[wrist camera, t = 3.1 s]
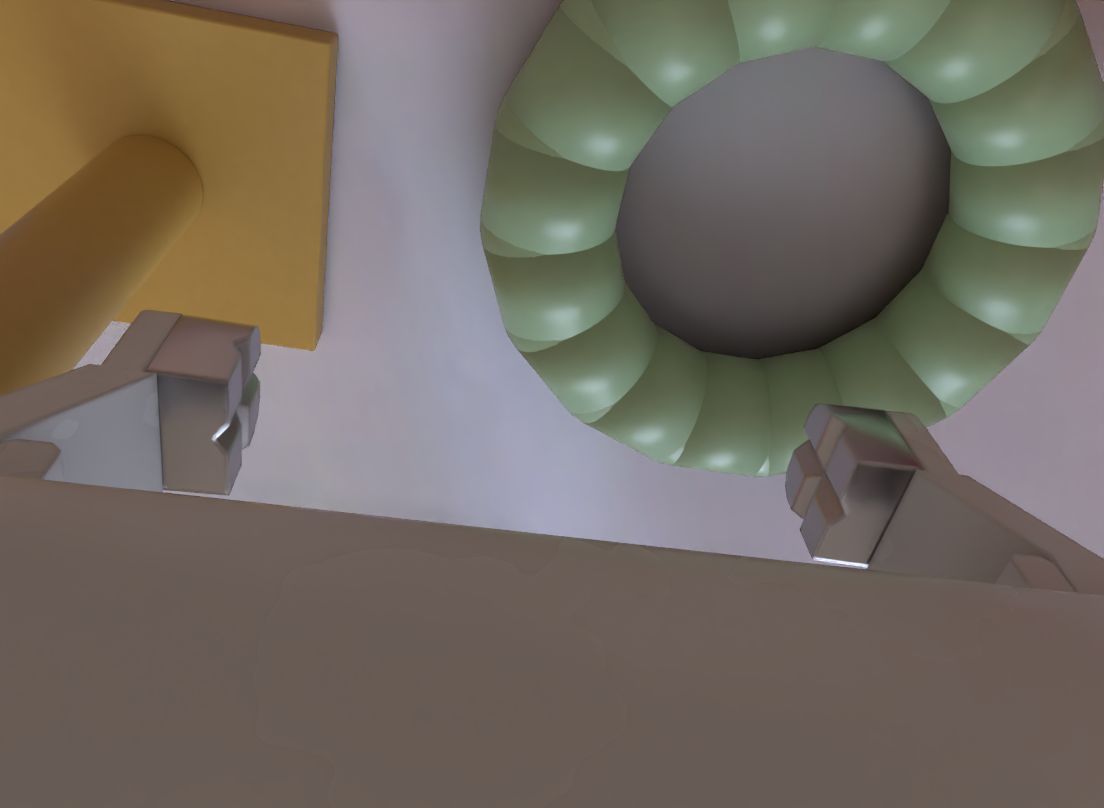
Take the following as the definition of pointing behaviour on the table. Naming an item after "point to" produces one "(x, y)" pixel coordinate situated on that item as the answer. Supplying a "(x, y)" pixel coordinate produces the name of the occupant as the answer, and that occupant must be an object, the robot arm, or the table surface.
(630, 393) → the ring
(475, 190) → the table surface
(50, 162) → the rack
